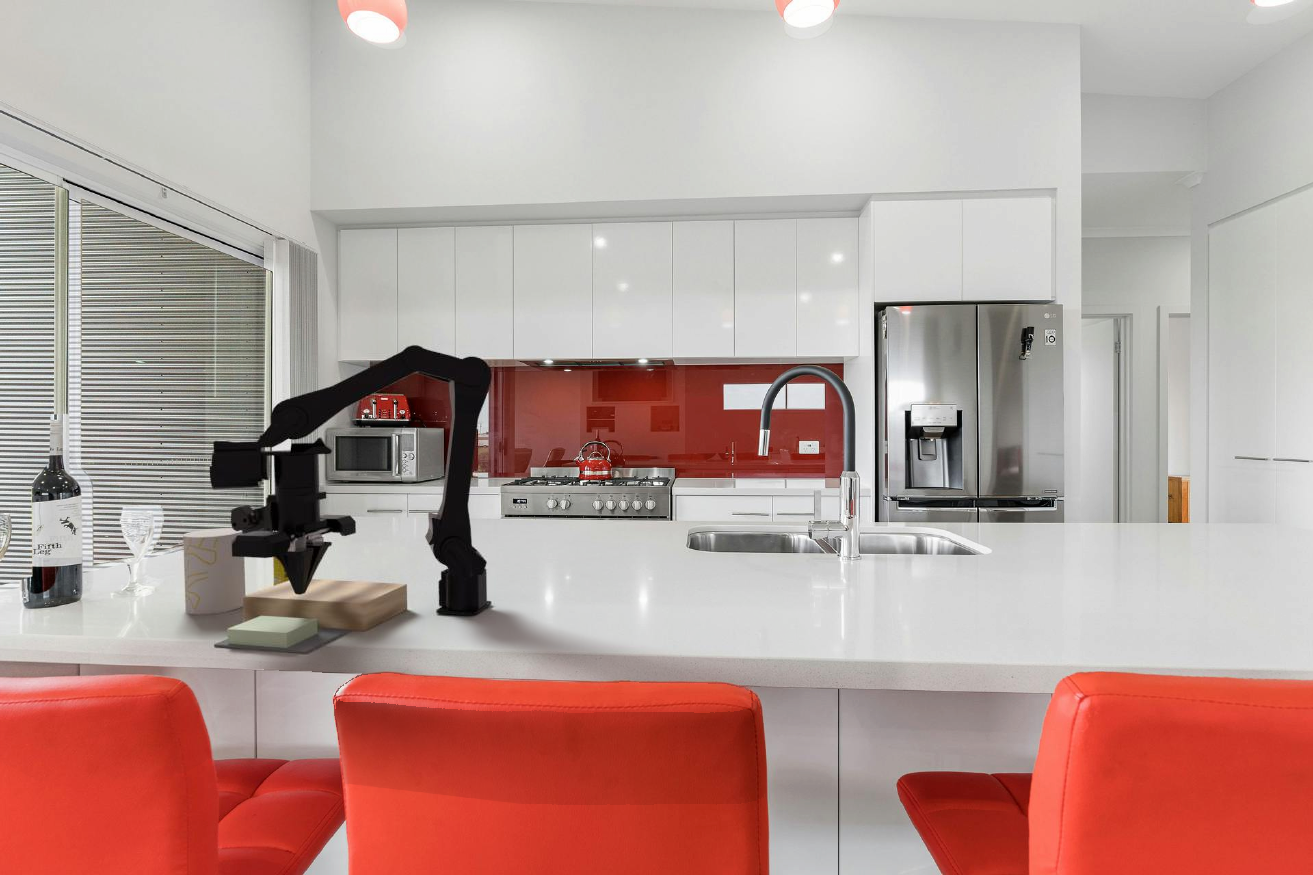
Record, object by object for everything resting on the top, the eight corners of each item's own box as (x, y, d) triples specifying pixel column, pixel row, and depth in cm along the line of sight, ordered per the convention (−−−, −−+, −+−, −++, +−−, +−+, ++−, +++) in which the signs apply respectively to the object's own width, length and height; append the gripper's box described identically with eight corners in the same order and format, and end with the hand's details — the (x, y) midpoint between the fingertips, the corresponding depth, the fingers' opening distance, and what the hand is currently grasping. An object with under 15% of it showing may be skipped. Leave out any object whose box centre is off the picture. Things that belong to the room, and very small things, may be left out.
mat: (350, 631, 99) (350, 629, 99) (306, 653, 90) (306, 651, 90) (264, 625, 102) (264, 623, 101) (214, 646, 93) (214, 644, 93)
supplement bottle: (282, 594, 118) (281, 537, 118) (268, 589, 122) (266, 534, 121) (314, 587, 123) (313, 532, 122) (299, 583, 126) (298, 529, 126)
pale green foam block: (286, 632, 91) (286, 647, 91) (317, 619, 97) (317, 633, 97) (227, 628, 93) (227, 643, 93) (261, 615, 99) (261, 629, 99)
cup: (174, 609, 110) (172, 534, 109) (226, 597, 117) (224, 526, 116) (204, 617, 106) (202, 539, 105) (256, 603, 113) (254, 530, 112)
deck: (407, 609, 110) (406, 583, 109) (364, 631, 99) (364, 603, 99) (296, 602, 114) (295, 578, 113) (243, 622, 103) (243, 596, 103)
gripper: (294, 478, 110) (296, 575, 111) (194, 493, 92) (198, 609, 93) (356, 479, 108) (359, 578, 109) (267, 494, 90) (270, 614, 90)
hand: (300, 593), depth 100 cm, fingers closed
